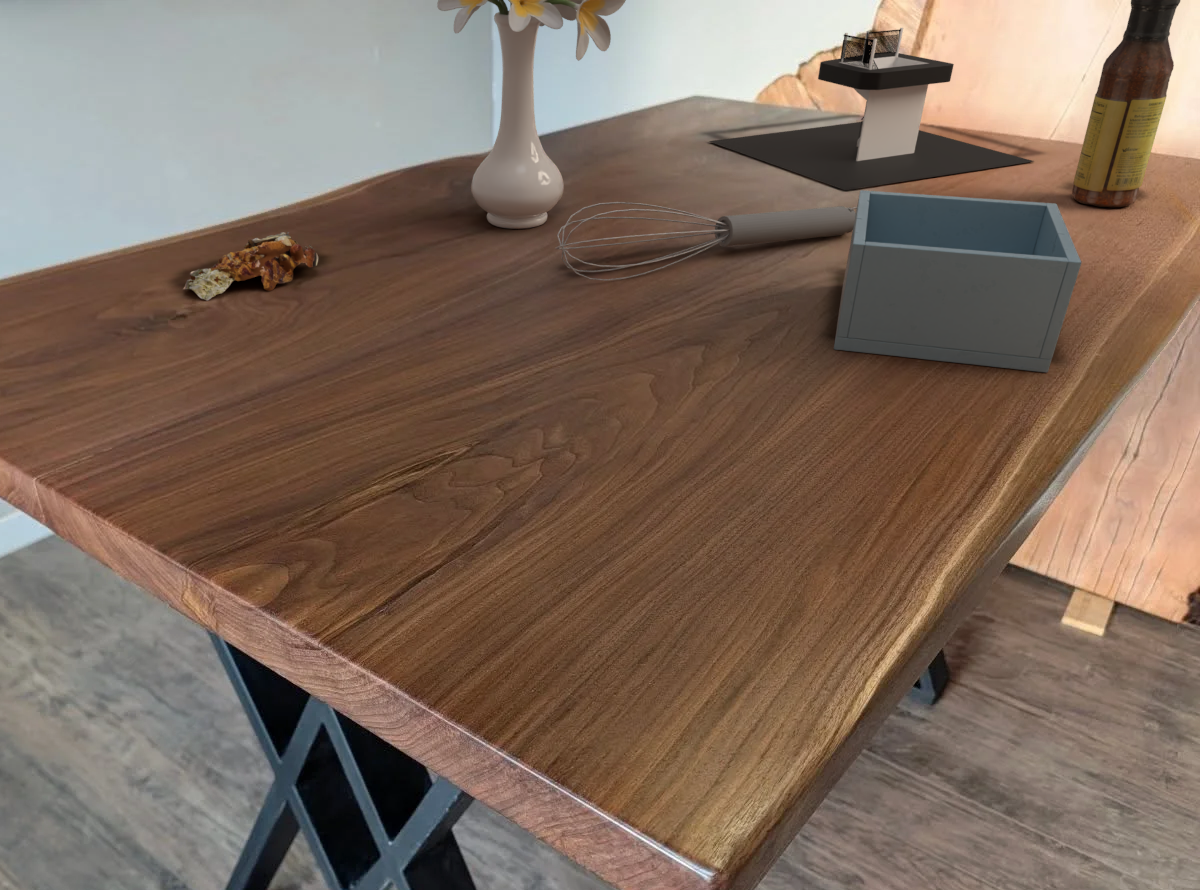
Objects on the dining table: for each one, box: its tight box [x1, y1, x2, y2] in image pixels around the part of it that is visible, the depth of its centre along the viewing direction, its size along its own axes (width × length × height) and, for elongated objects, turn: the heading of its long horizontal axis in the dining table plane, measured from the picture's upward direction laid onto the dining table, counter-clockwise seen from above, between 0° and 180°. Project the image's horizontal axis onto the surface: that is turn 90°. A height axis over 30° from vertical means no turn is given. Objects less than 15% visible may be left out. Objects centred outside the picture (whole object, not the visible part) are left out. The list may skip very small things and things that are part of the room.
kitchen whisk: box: [554, 201, 857, 282], centre depth 95 cm, size 6×34×6 cm, turn 115°
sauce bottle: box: [1071, 0, 1181, 208], centre depth 104 cm, size 7×6×20 cm
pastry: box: [183, 231, 319, 301], centre depth 92 cm, size 7×12×4 cm, turn 137°
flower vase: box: [436, 0, 627, 230], centre depth 100 cm, size 13×18×25 cm
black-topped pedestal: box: [708, 27, 1035, 191], centre depth 125 cm, size 28×26×13 cm
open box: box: [833, 189, 1082, 374], centre depth 80 cm, size 15×15×8 cm
